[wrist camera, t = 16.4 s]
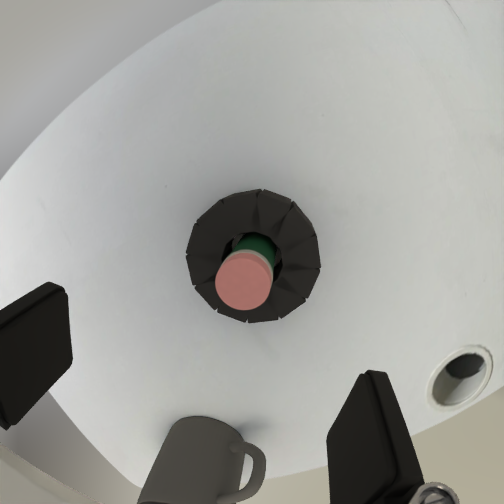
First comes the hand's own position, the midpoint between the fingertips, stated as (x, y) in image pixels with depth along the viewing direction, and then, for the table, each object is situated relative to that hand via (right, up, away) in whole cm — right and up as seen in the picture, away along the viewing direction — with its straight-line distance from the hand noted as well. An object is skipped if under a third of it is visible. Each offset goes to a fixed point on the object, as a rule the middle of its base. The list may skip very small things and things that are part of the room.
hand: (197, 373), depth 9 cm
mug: (-2, -17, +22) cm, 28 cm away
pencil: (+2, +4, +16) cm, 17 cm away
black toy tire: (+2, +4, +16) cm, 17 cm away
